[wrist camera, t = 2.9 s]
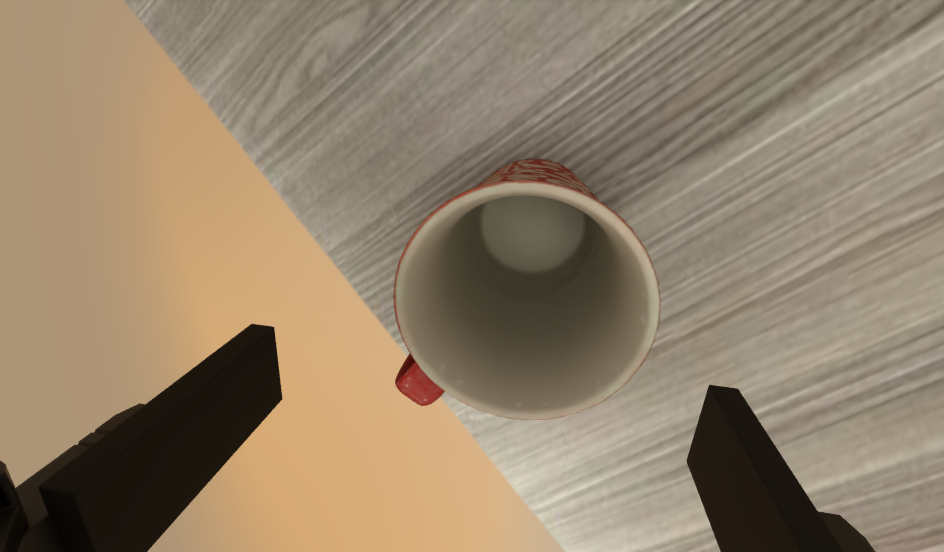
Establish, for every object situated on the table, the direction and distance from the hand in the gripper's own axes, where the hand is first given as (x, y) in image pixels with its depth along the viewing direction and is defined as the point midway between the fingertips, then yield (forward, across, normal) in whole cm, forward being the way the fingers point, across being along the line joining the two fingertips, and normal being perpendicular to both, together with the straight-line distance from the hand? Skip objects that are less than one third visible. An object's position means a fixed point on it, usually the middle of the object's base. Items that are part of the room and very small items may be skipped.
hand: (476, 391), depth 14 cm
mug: (+16, 0, 0) cm, 16 cm away
